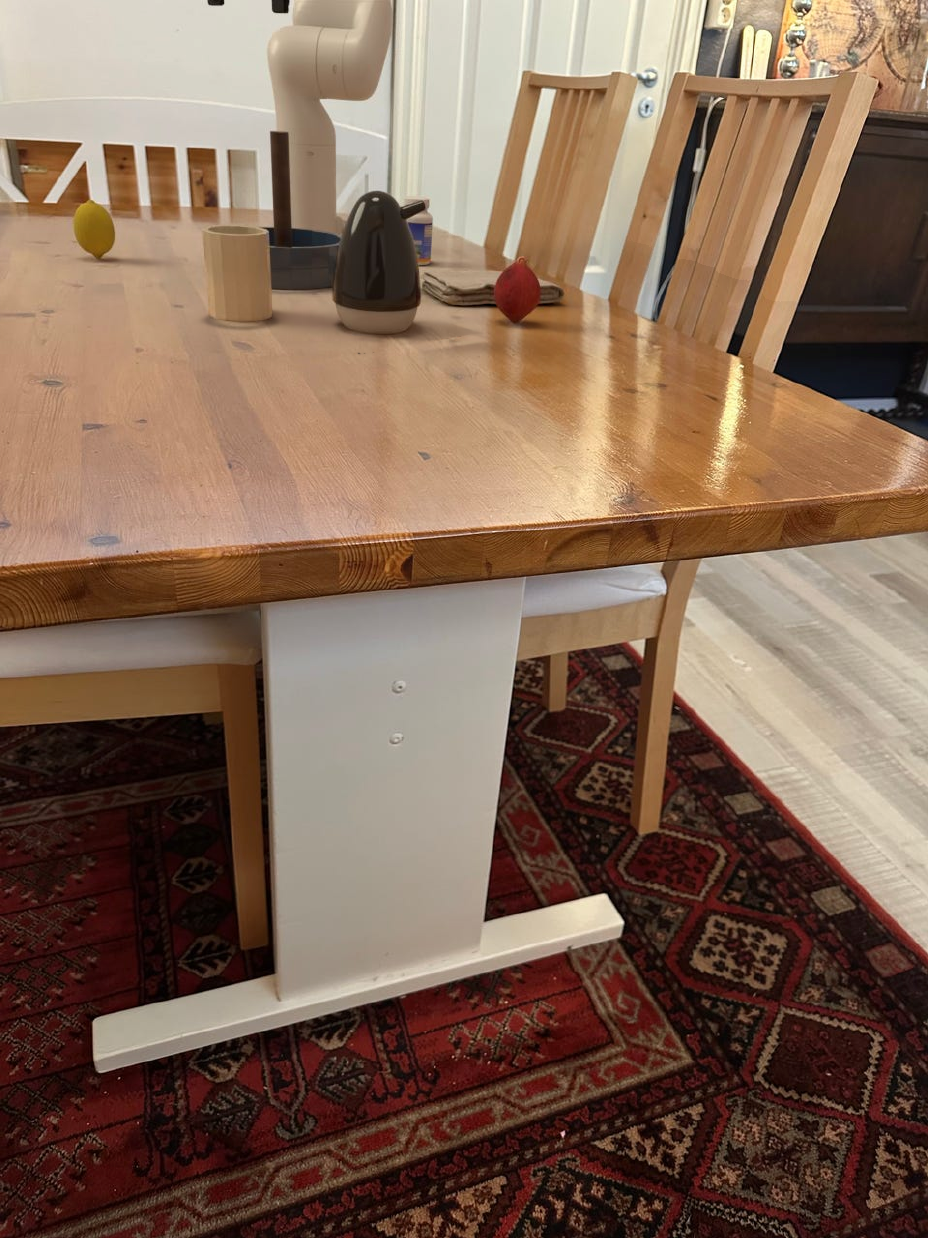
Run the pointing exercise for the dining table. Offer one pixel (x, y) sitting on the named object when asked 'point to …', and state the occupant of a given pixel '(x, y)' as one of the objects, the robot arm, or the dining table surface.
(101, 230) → the lemon
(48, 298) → the dining table surface
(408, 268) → the pump dispenser
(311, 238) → the bowl
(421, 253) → the pill bottle
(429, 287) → the washcloth
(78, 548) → the dining table surface
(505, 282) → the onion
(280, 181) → the stick
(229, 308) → the crock
